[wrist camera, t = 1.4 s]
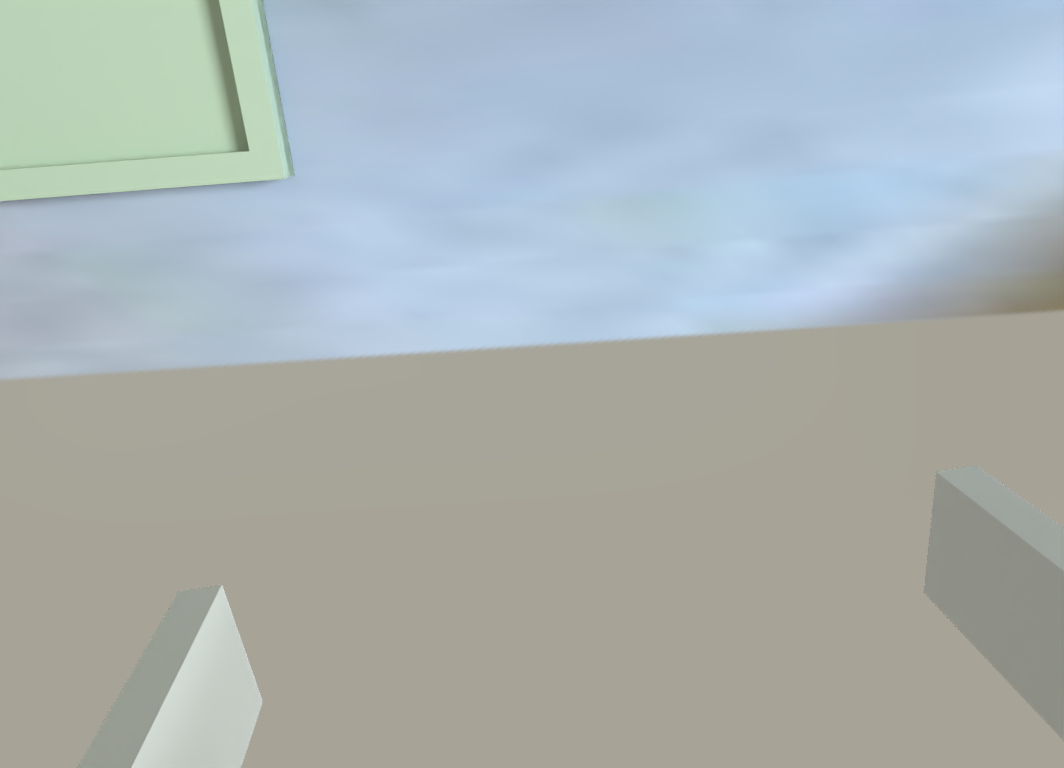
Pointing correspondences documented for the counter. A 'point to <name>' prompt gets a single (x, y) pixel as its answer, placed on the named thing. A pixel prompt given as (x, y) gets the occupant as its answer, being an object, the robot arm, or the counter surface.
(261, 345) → the counter surface
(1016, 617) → the robot arm
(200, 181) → the tray
